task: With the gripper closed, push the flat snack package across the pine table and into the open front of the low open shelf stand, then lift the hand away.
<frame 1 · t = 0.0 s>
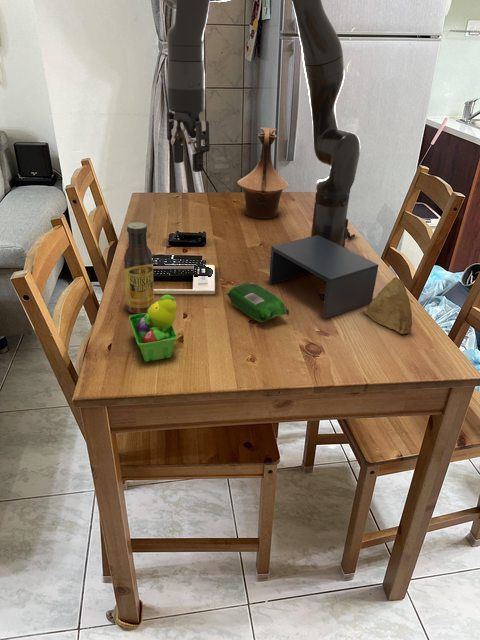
hand: (187, 166, 111), 29 cm above the table, tool pointing down, fingers open, 8 cm apart
brown cone topped pot: (261, 214, 174), on the table
sauce bottle: (141, 309, 116), on the table
snack package: (256, 313, 116), on the table
photo frame: (178, 280, 129), on the table
rock: (387, 324, 114), on the table
open shelf stand: (318, 292, 125), on the table
fruit basket: (156, 348, 103), on the table
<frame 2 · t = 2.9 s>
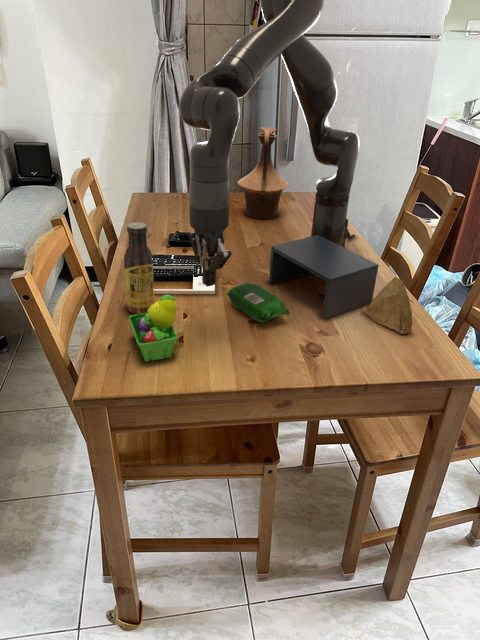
hand: (208, 284, 104), 10 cm above the table, tool pointing down, fingers closed
nothing on the table moved.
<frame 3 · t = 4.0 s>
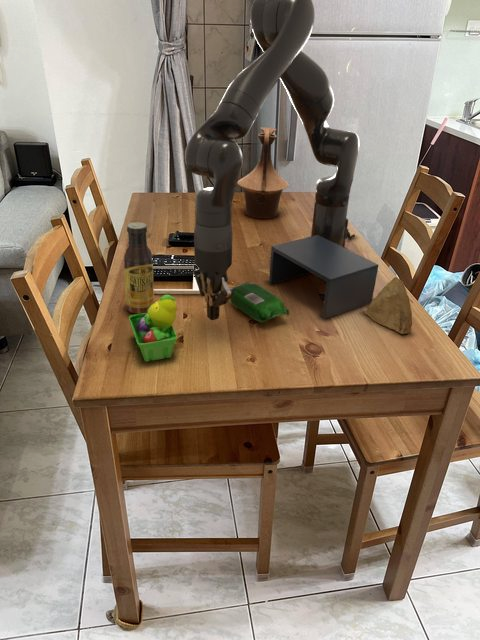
hand: (213, 318, 109), 2 cm above the table, tool pointing down, fingers closed
nothing on the table moved.
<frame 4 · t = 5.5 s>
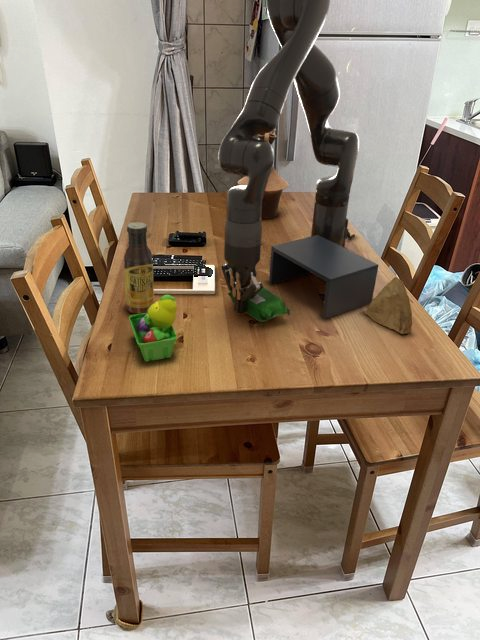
hand: (239, 311, 113), 1 cm above the table, tool pointing down, fingers closed
snack package: (257, 312, 116), on the table, touching gripper
everything else where it was.
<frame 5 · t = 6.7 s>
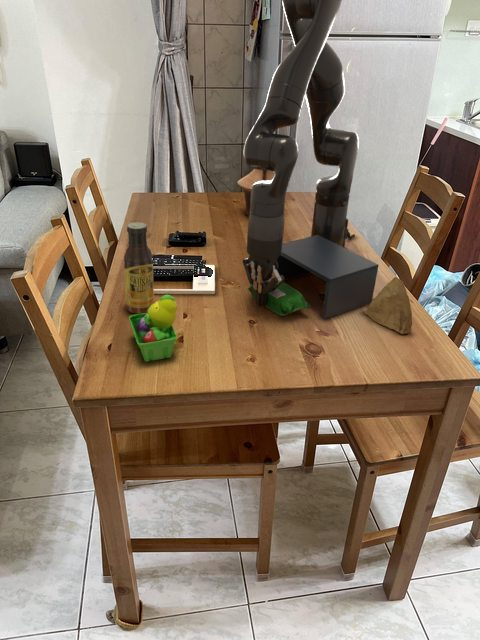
hand: (260, 305, 116), 2 cm above the table, tool pointing down, fingers closed
snack package: (276, 307, 119), on the table, touching gripper
everything else where it was.
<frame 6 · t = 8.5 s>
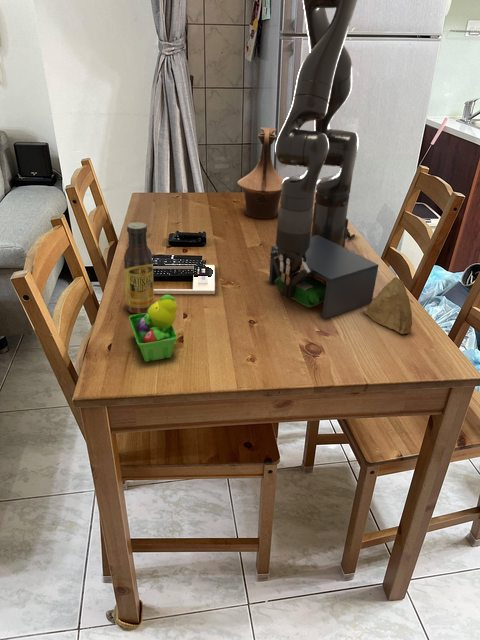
hand: (287, 296, 120), 2 cm above the table, tool pointing down, fingers closed
snack package: (302, 299, 123), on the table, touching gripper
everything else where it was.
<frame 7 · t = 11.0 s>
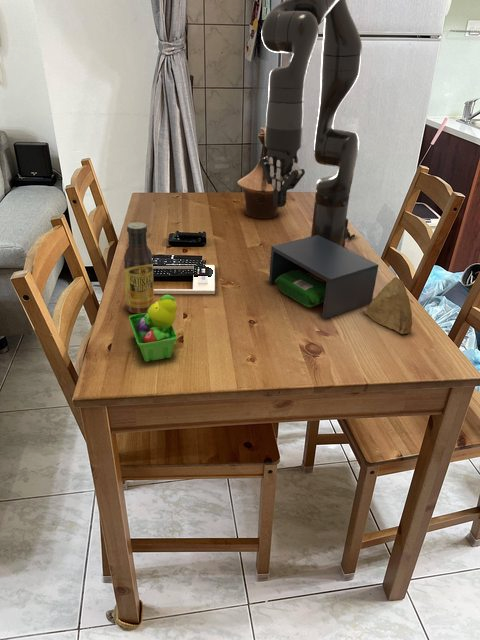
hand: (279, 205, 114), 22 cm above the table, tool pointing down, fingers closed
snack package: (303, 299, 123), on the table
everything else where it was.
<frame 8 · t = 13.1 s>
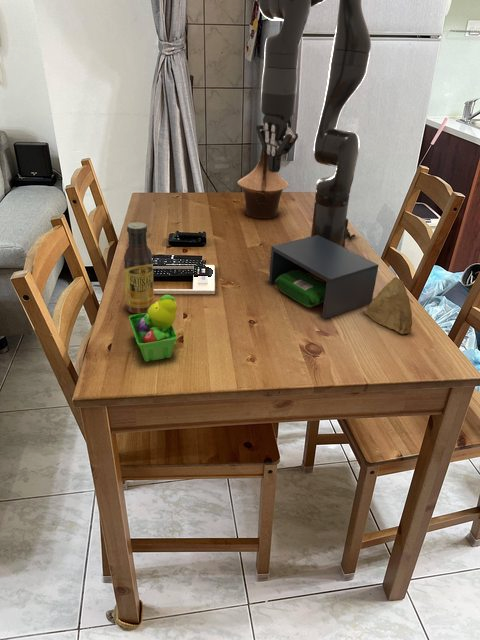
hand: (273, 171, 119), 27 cm above the table, tool pointing down, fingers closed
nothing on the table moved.
at the end: snack package inside the target area on the open shelf stand (5.1 cm from its centre), point 0.0 cm above the open shelf stand's base; snack package tilted 0°; snack package moved 13.7 cm from its start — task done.
